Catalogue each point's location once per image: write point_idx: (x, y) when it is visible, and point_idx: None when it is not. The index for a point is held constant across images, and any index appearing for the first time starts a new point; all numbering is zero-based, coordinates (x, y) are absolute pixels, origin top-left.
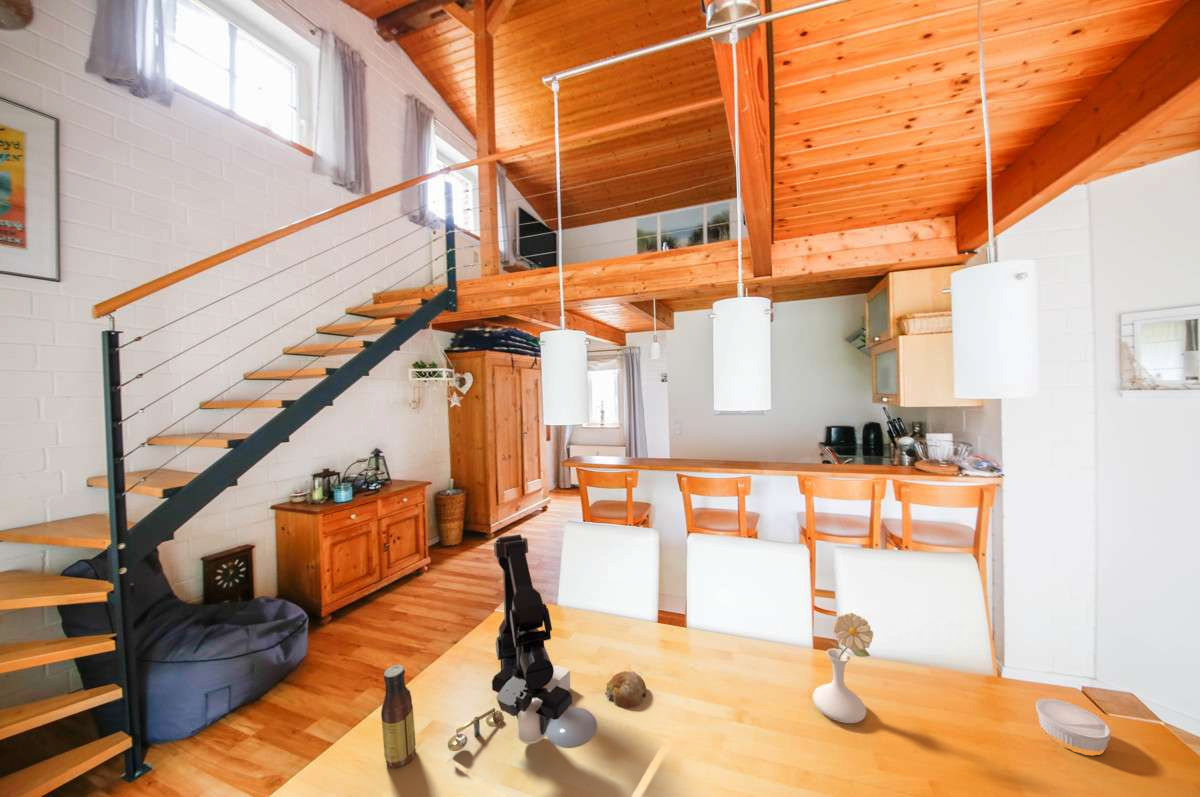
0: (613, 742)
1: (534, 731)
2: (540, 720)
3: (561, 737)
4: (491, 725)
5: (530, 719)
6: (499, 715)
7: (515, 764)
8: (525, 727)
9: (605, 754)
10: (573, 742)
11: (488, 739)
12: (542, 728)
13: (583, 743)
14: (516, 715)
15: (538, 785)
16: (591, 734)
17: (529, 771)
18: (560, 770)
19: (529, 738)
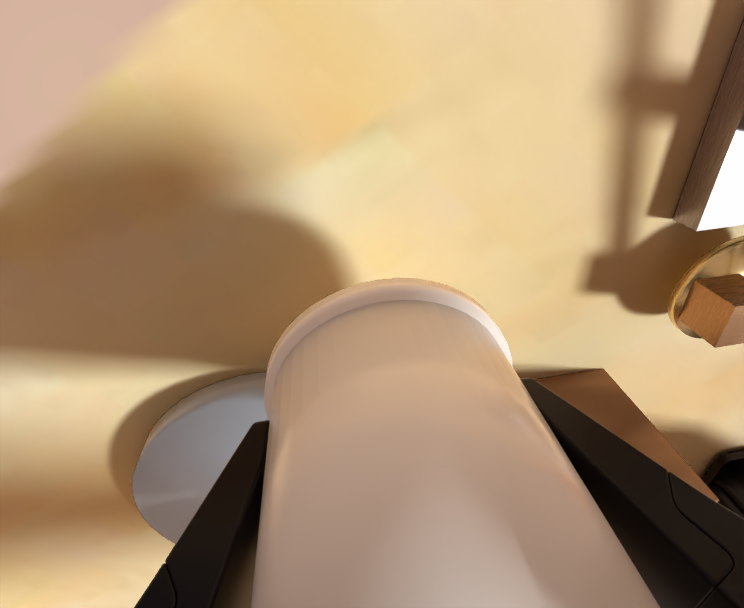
0: (84, 532)
1: (283, 419)
2: (200, 593)
3: None
4: (730, 247)
5: (302, 558)
6: (724, 323)
7: (373, 155)
8: (364, 408)
9: (40, 489)
10: (184, 456)
11: (686, 173)
12: (220, 487)
13: (136, 479)
14: (589, 422)
15: (76, 139)
16: (160, 521)
17: (241, 180)
18: (98, 311)
19: (316, 339)
